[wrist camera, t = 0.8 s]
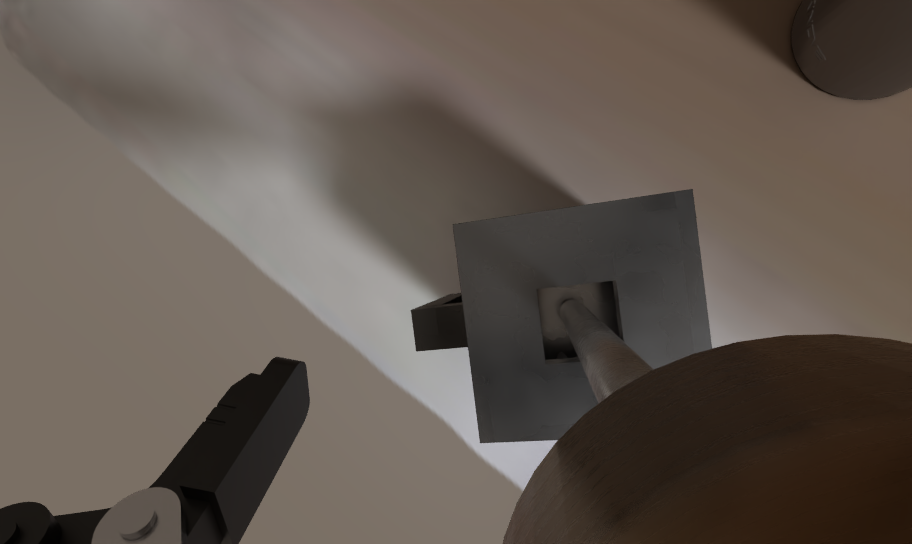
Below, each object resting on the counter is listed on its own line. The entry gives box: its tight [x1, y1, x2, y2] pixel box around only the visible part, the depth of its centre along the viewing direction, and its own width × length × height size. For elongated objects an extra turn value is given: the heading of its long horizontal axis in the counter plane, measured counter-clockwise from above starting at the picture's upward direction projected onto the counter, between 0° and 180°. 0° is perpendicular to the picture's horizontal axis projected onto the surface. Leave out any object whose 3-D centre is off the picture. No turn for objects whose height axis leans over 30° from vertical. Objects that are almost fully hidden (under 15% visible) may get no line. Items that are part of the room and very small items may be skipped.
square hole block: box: [411, 189, 712, 443], centre depth 24 cm, size 12×9×16 cm
